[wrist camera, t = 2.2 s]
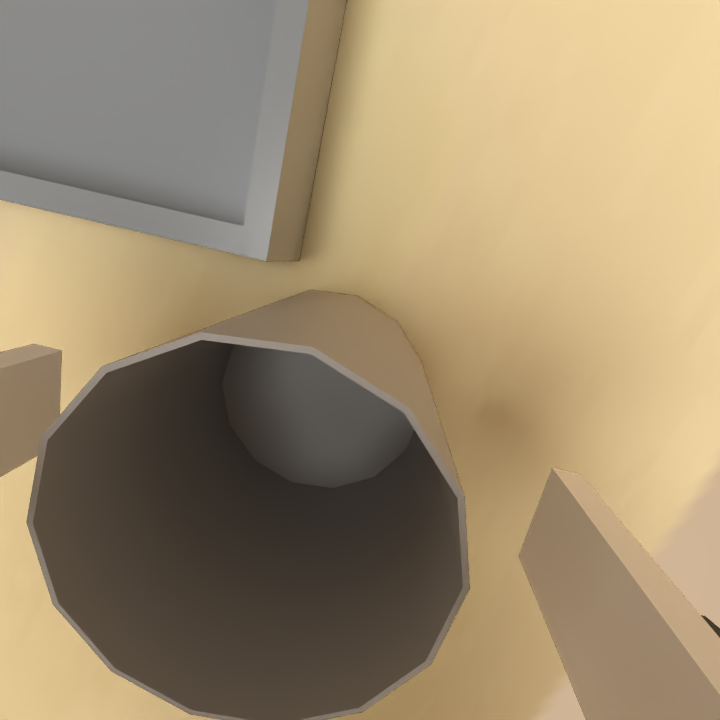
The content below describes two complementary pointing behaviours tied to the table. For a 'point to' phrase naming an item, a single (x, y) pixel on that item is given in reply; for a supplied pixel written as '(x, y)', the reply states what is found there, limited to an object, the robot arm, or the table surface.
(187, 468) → the cup
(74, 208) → the slate bin
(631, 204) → the table surface
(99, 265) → the table surface
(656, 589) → the robot arm
